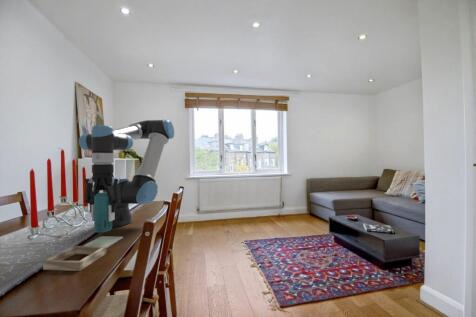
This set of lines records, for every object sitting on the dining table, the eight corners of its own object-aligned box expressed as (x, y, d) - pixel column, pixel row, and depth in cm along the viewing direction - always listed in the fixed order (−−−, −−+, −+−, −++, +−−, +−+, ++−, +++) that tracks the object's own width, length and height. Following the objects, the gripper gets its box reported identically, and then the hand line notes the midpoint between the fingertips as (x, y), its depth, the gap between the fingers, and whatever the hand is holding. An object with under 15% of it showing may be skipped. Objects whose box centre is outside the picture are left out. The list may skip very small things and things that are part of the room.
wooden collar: (74, 252, 79) (74, 245, 79) (106, 253, 79) (106, 246, 79) (43, 269, 67) (43, 261, 67) (80, 270, 67) (80, 262, 67)
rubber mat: (100, 237, 95) (100, 236, 95) (123, 237, 94) (123, 236, 94) (81, 247, 84) (81, 246, 84) (106, 248, 83) (106, 247, 83)
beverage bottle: (103, 236, 85) (103, 185, 85) (89, 235, 86) (89, 185, 86) (116, 231, 92) (116, 183, 92) (102, 230, 93) (102, 183, 93)
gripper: (72, 164, 86) (73, 222, 86) (120, 163, 85) (120, 223, 85) (86, 163, 93) (87, 217, 93) (131, 163, 92) (131, 218, 92)
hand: (103, 220), depth 89 cm, fingers closed on beverage bottle, 6 cm apart
